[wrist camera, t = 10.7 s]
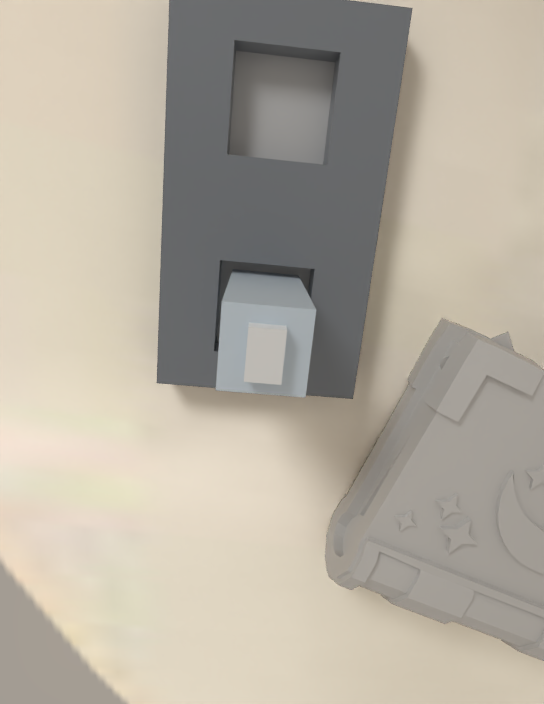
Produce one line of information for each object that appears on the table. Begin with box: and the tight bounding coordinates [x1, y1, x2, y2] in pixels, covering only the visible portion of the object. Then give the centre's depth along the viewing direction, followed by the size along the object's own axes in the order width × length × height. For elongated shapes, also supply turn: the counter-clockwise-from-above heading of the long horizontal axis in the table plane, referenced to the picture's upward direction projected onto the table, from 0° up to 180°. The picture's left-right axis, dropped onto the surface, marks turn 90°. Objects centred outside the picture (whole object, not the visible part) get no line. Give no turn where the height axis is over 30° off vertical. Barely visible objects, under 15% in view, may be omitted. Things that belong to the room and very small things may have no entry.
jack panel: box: [157, 0, 412, 399], centre depth 29 cm, size 21×12×2 cm, turn 175°
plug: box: [216, 269, 316, 398], centre depth 26 cm, size 4×4×11 cm
